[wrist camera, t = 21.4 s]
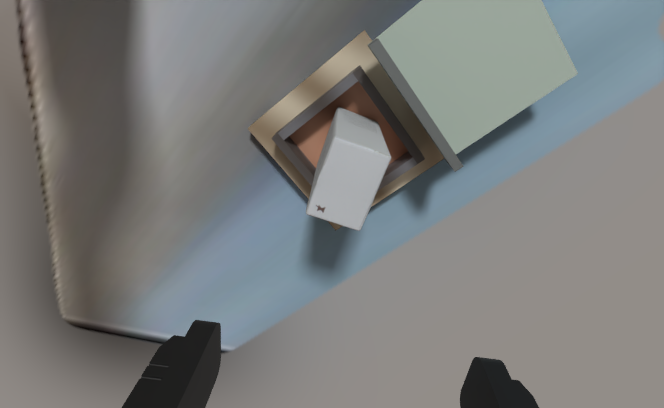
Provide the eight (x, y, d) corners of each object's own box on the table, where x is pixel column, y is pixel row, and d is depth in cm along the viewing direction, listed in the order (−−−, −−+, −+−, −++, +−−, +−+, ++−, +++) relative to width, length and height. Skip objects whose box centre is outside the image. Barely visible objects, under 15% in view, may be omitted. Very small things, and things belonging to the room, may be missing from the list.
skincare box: (357, 176, 37) (359, 234, 26) (317, 162, 37) (302, 215, 26) (380, 119, 35) (393, 157, 24) (337, 103, 34) (331, 135, 23)
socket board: (336, 224, 41) (334, 242, 38) (251, 125, 37) (240, 134, 34) (445, 150, 37) (455, 163, 34) (364, 30, 33) (365, 29, 29)
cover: (444, 158, 33) (454, 171, 30) (367, 45, 30) (369, 46, 27) (573, 72, 30) (601, 77, 27) (503, -68, 26) (525, -82, 23)
